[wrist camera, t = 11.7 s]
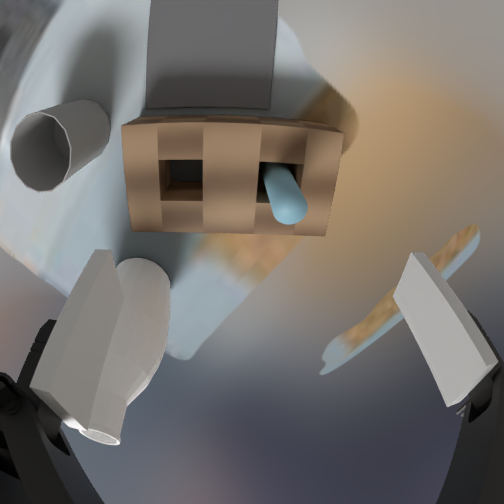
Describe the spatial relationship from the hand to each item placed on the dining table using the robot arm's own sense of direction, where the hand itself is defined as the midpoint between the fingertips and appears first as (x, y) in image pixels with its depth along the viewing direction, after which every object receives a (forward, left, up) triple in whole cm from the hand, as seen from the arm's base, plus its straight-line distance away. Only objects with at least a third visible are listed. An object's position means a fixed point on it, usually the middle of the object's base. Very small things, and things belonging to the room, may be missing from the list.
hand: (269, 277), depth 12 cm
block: (+3, -2, -25) cm, 25 cm away
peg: (+3, +3, -25) cm, 25 cm away
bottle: (+21, -15, -25) cm, 35 cm away
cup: (-2, -21, -25) cm, 32 cm away
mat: (-11, -5, -25) cm, 27 cm away
